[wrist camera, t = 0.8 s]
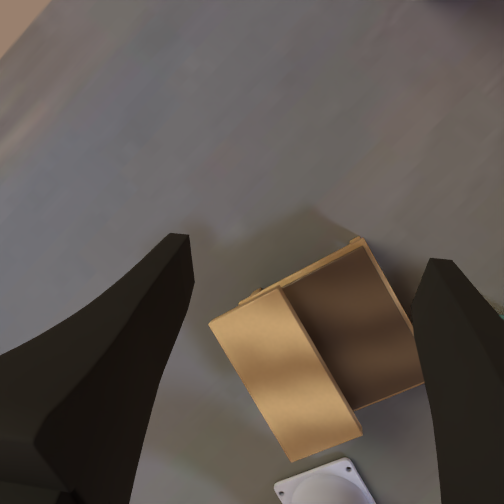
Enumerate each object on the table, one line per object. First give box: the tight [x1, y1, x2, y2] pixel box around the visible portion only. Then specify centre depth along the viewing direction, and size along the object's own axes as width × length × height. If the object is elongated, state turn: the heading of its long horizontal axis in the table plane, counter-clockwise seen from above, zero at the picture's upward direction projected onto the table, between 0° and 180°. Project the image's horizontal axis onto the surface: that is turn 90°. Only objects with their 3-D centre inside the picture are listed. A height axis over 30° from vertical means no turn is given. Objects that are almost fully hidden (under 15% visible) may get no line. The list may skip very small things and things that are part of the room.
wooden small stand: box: [209, 236, 425, 462], centre depth 32 cm, size 12×13×6 cm
